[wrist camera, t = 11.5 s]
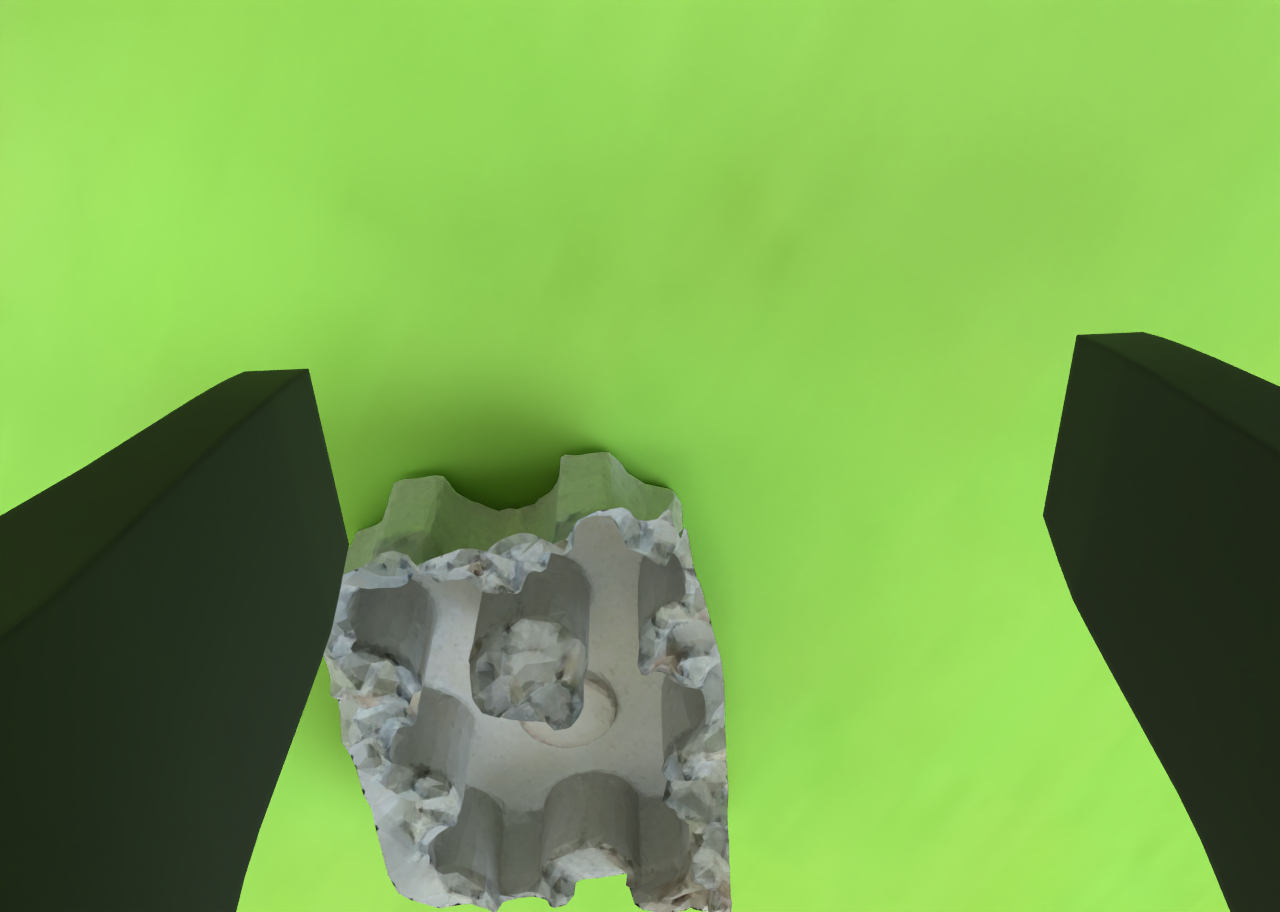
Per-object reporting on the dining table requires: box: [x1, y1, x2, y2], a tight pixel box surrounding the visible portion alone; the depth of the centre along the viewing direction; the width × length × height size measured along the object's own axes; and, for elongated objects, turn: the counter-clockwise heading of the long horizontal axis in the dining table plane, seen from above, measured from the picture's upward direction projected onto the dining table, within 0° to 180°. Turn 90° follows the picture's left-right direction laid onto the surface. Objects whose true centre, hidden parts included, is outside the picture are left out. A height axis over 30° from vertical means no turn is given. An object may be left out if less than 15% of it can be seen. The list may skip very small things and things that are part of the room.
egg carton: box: [323, 452, 732, 912], centre depth 23 cm, size 11×8×4 cm
